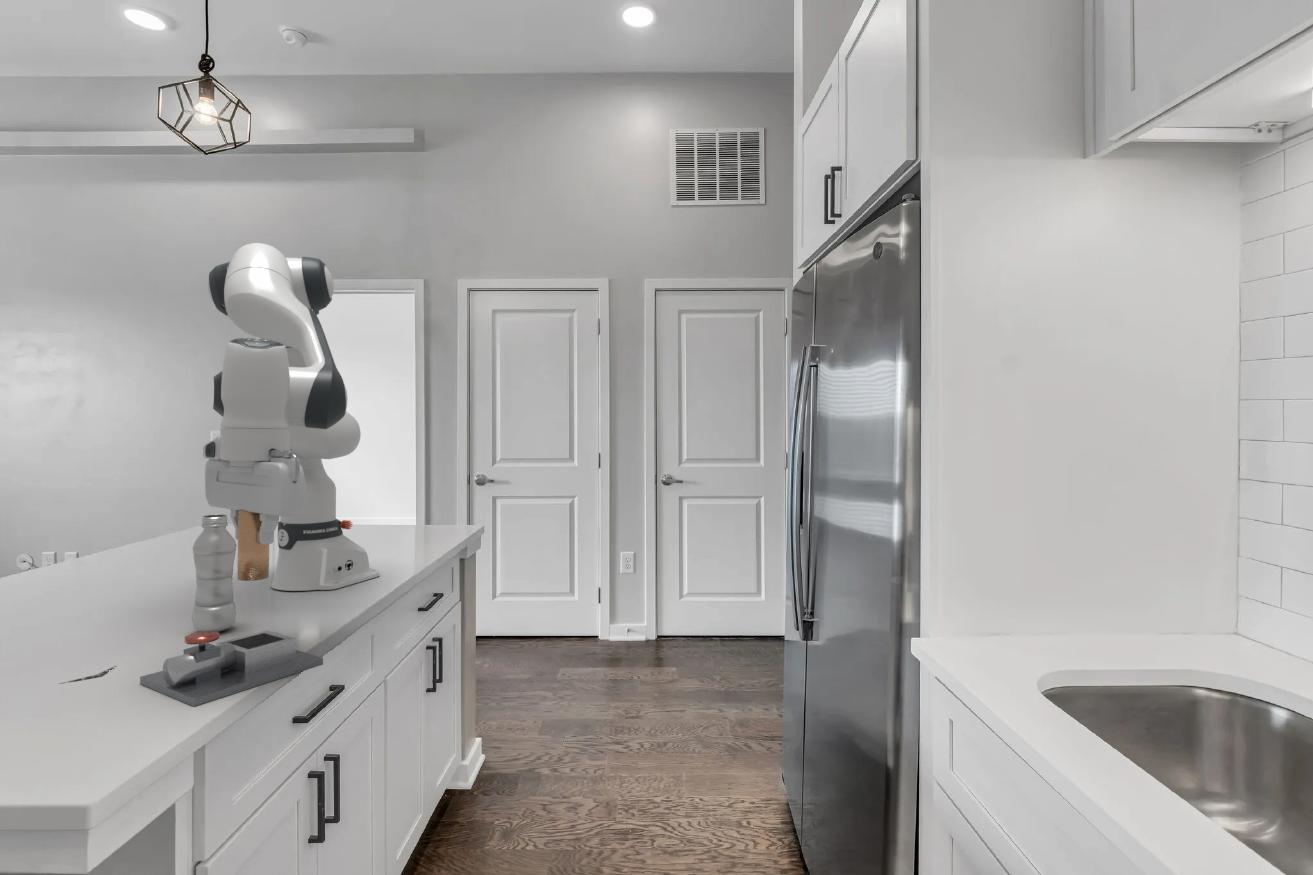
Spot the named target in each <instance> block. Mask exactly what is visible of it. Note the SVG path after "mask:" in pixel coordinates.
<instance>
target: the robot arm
mask: <svg viewBox="0 0 1313 875" xmlns="http://www.w3.org/2000/svg"><path fill="white" fill-rule="evenodd" d="M333 279H334V278H333V275H332V274H331V272H330V271H329V269H328V267H327V266H326V263H325V262H323V261H322V260H321V259H320V258H318V257H317V258H316V257H311V256H310V257H309V256H302V258H301V257H286V256H285V255H284V253H282V252H281V251H280V250H279V249H277V248H276V247H274V246H273V245H270V244H267V243H262V242H251V243H247V244H245V245H242V246H241V247H239V248H238V249H237V250H236V251H235V252H234V254H233V256H232V258H231V260H230V261H228V262H225V263H224V262H223V263H222V264H218V265H215V266H214V268H212V269H211V270H210V272H209V274H208V281H207V290H208V294H209V297H210V299H211V302H213V304H214V305H215V308H216V309H217V311H219V312H220V313H222V314H223V315H225V316H227V317H228V318H229V319H230V320H231V322H232V323H233V324H234V325H235V326H236V327H237V328H239V329H240V330H241V331H242V332H245V333H247V334H248V335H250V336H253V338H249V337H248V338H244V337H242V338H241V337H238V338H234V339H232V340H230V341H227V344H226V347H225V352H224V357H223V358H224V359H223V363H222V370H221V371H220V372H219V373H217V374H215V375H214V376H213V405H212V406H213V407H212V409H213V410H214V411H215V412H216V413H217V414H219V415H220V417H222V420H221V421H220V422H221V423H220V434H218V435H217V436H216V437H215V438H213V439H212V440H209V441H208V442H206V443H204V445H203V446H202V455H203V458H204V459H207V461H206V463H205V467H204V489H205V490H204V491H205V499H206V501H207V504H208V505H209V506H210V507H213V508H219V509H225V510H226V509H227V510H230V514H229V515H230V519H231V521H232V524H233V527H234V529H235V530H234V531H235V532H234V533H235V534H234V535H235V537H234V539H235V540H236V541H238V512H239V510H241V511H248V512H254V513H260V521H262V524H261V527H260V531H259V532H256V542H257V543H258V544H263V545H266V544H269V545H271V544H273V543H274V542H275V541H274V539H275V531H276V528H277V545H278V556H277V563H276V568H275V572H274V576H273V580H272V582H271V585H270V587H271V588H272V589H274V590H278V591H286V592H287V591H289V592H290V591H291V592H297V591H298V592H300V591H301V592H302V591H317V590H318V591H319V590H320V591H325V590H327V591H328V590H337V589H340V588H343V587H347V586H350V585H354V584H357V583H361V582H364V581H367V580H371V579H374V578H378V577H380V574H381V573H380V571H379V570H378V569H377V568H376V569H375V568H373V567H370V562H369V556H368V553H367V551H366V549H365V548H364V547H362V546H360V545H359V544H357V543H356V542H355V541H353V540H352V539H350V538H349V537H347V536H345V535H344V532H343V530H345V529H346V530H350V529H352V527H353V522H352V521H351V520H346V519H343V520H339V519H337V517H336V516H337V515H336V514H337V487H336V483H335V482H334V481H333V480H332V478H331V477H330V476H329V475H328V474H327V472H326V470H325V467H324V463H323V461H322V460H331V459H337V458H342V457H346V456H348V455H351V453H353V452H354V451H355V450H356V449H357V448H358V446H359V443H360V441H361V434H362V433H361V426H360V425H359V423H358V421H357V420H356V418H355V417H354V416H353V415H351V414H350V413H349V412H348V411H347V408H348V407H347V406H348V390H347V387H346V385H345V382H344V379H343V377H342V375H341V373H340V372H339V369H338V368H337V365H336V363H335V360H334V357H333V354H332V351H331V349H330V345H329V343H328V340H327V338H326V334H325V332H324V328H323V326H322V323H321V321H320V319H319V317H318V315H319V314H320V311H321V310H323V309H325V308H327V306H328V305H330V303H331V302H332V300H333V294H334V291H335V290H334V289H335V284H334V280H333ZM254 337H255V338H254Z"/></svg>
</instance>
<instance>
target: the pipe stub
mask: <svg viewBox="0 0 1313 875" xmlns="http://www.w3.org/2000/svg"><path fill="white" fill-rule="evenodd" d="M261 524H262V521H260V513H254V512H248V511H241V510H239V512H238V540H237V571H236V572H237V574H236V576H237V580H238V581H242V582H243V581H244V582H245V581H246V582H247V581H248V582H249V581H259V580H260V581H261V580H264V579H268V578H269V577H270V576H269V575H270V544H266V545H263V544H258V543H257V542H256V532H259V531H260V527H261Z"/></svg>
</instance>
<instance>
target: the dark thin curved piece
mask: <svg viewBox="0 0 1313 875" xmlns="http://www.w3.org/2000/svg"><path fill="white" fill-rule="evenodd" d="M114 667H115V668H116V667H117V666H116V665H114V666H112V667H110V668H108V669H106V670H103V671H101V672H99V673H97V674H96V673H95V674H93V675H90V676H89V675H88V676H85V677H81V678H76V679H73V680H68V681H64V682H59V683H58V685H62V684H63V685H64V684H68V683H69V684H70V683H74V682H75V683H76V682H80V681H87V680H92V679H98V678H103V677H104V676H106V675H107V674H108V672H109V670H112V669H113V670H114V669H115V668H114ZM113 670H112V671H113ZM109 673H110V672H109Z"/></svg>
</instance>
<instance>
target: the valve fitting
mask: <svg viewBox="0 0 1313 875" xmlns="http://www.w3.org/2000/svg"><path fill="white" fill-rule="evenodd" d="M219 639H220V631H219V632H217V631H203V632H198V631H197V632H193V633H190V634H187V635H186V636H184V644H187V645H196V646H192V647H188V648H184V649H183V654H182V655H181V654H180V655H177V656H174V657H168V658H166V659H165V660H164V662H163V665H162V670H160V671H156V672H153V673H149V674H146V675H143V676H140V677H139V684H140V685H141V686H143V687H146V688H149V689H151V690H153V691H156V692H157V693H160V694H163V695H165V696H167V697H170V698H172V699H175V700H177V701H179V702H182V703H183V704H187V705H190V706H192V707H196V706H197V707H198V706H201V705H203V704H206V703H209V702H213V701H215V700H218V699H222V698H225V697H227V696H231V695H234V694H236V693H240V692H242V691H246V690H249V689H253V688H255V687H259V686H261V685H265V684H268V683H271V682H274V681H277V680H279V679H283V678H287V677H289V676H292V675H295V674H299V673H301V672H304V671H308V670H311V669H314V668H317V667H320V666H322V665H324V658H323V657H321V656H318V655H314V654H312V653H308V652H305V651H300V650H297V638H295V637H292V636H288V635H285V634H281V633H278V632H274V631H271V630H268V629H267V630H263V631H258V632H255V633H250V634H246V635H243V636H239V637H235V638H230V639H227V640H224V641H220V642H216V643H215V644H212V642H215V641H217V640H219Z"/></svg>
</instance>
